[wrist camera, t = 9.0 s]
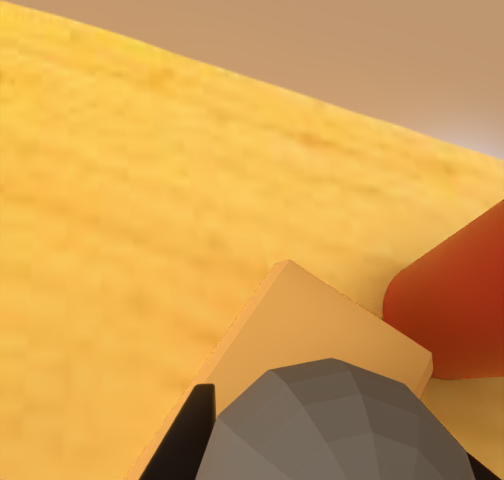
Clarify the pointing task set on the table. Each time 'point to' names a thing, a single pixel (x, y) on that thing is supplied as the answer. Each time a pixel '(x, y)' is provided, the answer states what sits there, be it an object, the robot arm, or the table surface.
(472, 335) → the red cup
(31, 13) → the table surface
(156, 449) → the robot arm
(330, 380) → the rubber stamp
